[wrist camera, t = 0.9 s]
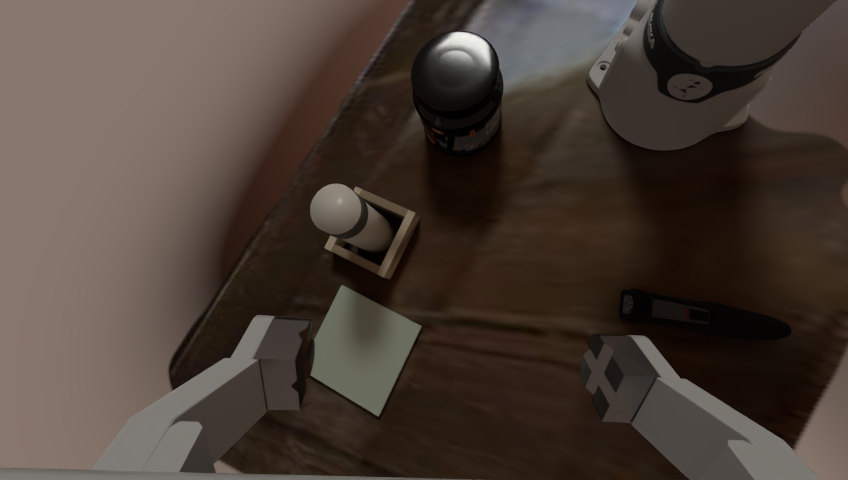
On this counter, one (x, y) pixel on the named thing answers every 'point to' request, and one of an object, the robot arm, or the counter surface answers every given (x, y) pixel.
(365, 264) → the square wooden frame
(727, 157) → the counter surface
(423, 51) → the supplement container
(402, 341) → the mat
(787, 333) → the electric trimmer
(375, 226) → the white capsule post
